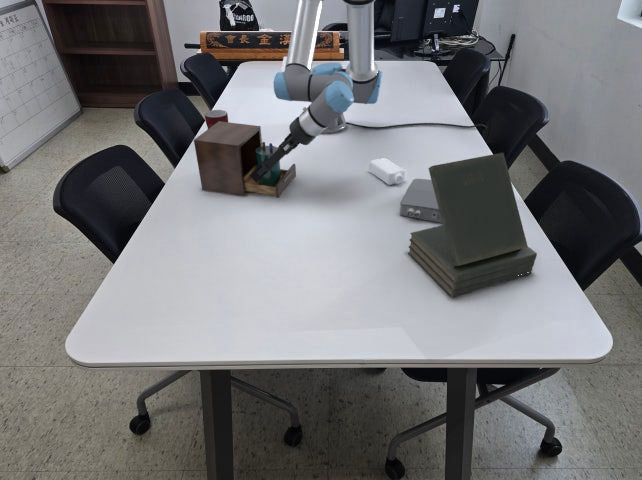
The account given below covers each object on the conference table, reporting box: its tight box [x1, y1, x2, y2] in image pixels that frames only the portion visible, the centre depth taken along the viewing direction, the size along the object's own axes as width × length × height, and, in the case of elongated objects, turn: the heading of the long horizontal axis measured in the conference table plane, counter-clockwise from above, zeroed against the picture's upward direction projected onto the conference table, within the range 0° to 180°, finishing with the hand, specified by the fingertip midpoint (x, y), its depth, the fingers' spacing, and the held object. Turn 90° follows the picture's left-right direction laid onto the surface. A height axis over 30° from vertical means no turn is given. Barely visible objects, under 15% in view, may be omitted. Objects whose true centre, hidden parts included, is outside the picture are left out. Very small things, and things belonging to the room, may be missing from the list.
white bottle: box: [368, 157, 406, 186], centre depth 159 cm, size 6×13×4 cm, turn 30°
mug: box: [204, 109, 229, 130], centre depth 180 cm, size 10×8×10 cm
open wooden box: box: [193, 121, 263, 197], centre depth 152 cm, size 14×16×16 cm
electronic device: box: [399, 178, 443, 224], centre depth 143 cm, size 19×22×5 cm
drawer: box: [244, 163, 297, 199], centre depth 153 cm, size 14×15×4 cm
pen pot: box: [255, 141, 281, 187], centre depth 149 cm, size 7×7×13 cm
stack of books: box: [407, 152, 538, 299], centre depth 115 cm, size 23×20×25 cm
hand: (262, 169), depth 151 cm, fingers open, 13 cm apart
